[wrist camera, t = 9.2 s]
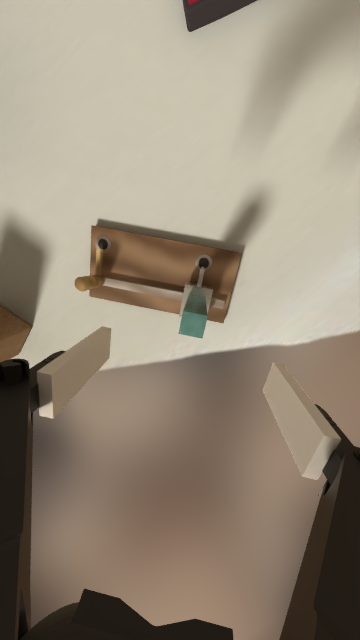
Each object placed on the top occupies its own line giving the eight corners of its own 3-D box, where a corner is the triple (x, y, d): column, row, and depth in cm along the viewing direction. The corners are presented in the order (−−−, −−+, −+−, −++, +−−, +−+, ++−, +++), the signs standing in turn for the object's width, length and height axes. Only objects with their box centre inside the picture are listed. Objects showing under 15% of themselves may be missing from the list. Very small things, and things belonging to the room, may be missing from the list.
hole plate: (95, 226, 39) (67, 218, 31) (240, 253, 37) (251, 251, 29) (93, 295, 43) (67, 303, 35) (222, 321, 42) (227, 336, 34)
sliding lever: (190, 263, 37) (182, 267, 22) (215, 268, 37) (226, 276, 22) (181, 310, 40) (169, 342, 25) (205, 315, 40) (207, 350, 25)
